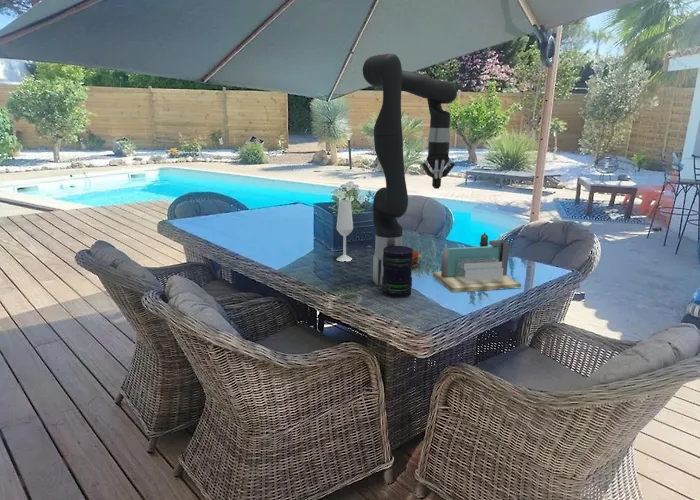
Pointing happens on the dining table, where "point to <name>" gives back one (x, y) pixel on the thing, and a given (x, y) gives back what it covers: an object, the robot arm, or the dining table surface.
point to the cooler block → (484, 266)
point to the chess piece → (484, 240)
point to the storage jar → (397, 271)
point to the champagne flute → (344, 225)
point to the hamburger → (415, 259)
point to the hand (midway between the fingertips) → (436, 188)
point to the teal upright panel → (464, 256)
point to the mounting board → (458, 286)
